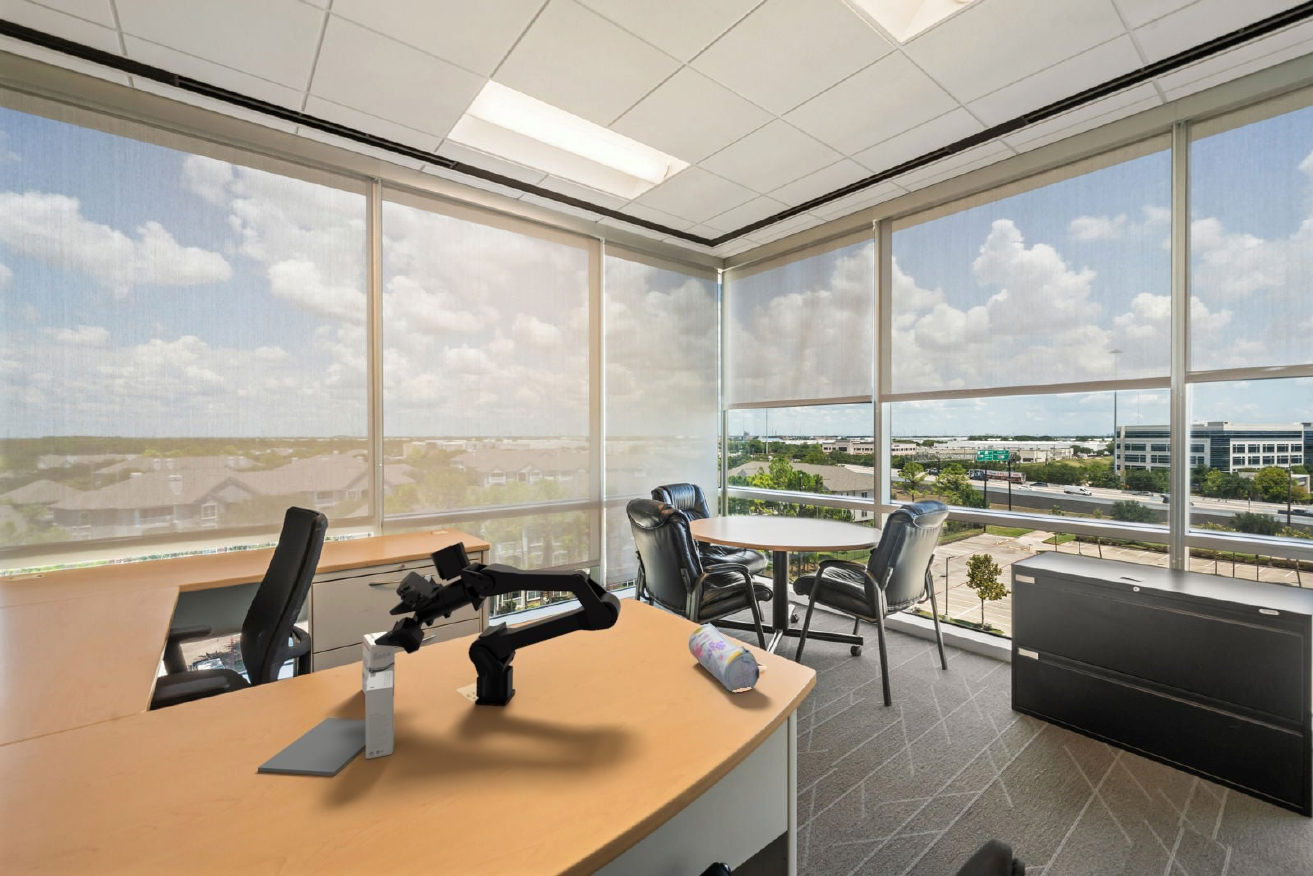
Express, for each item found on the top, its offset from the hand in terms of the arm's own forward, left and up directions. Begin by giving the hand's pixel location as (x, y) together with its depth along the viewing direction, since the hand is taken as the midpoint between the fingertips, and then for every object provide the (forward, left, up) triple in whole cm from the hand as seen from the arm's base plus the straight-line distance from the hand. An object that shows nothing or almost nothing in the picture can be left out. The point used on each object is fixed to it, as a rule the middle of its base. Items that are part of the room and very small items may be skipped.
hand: (383, 627), depth 112 cm
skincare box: (-11, +19, -14) cm, 26 cm away
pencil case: (-72, -17, -15) cm, 76 cm away
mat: (-2, +19, -14) cm, 24 cm away
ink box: (+2, -1, -15) cm, 15 cm away
